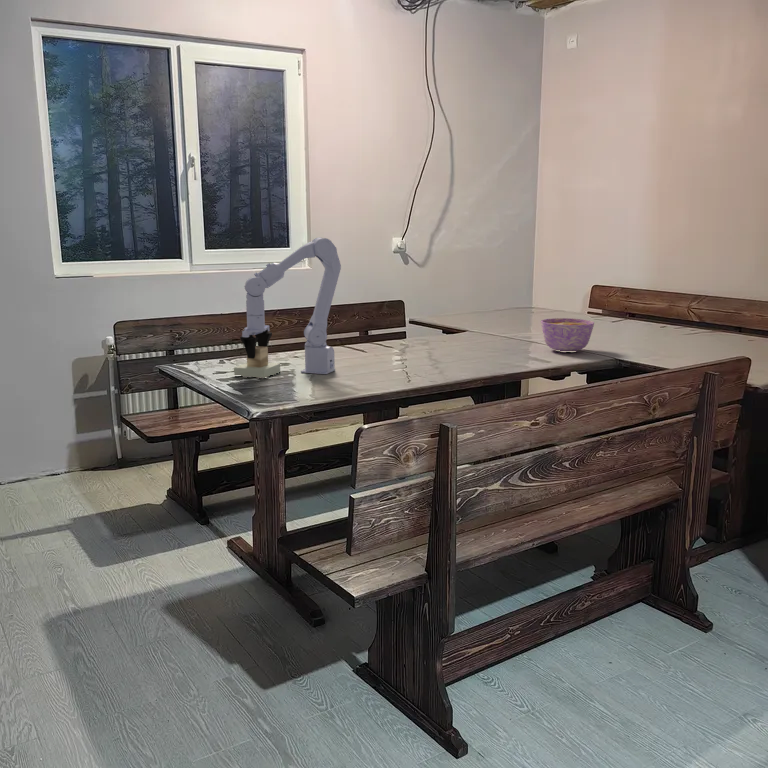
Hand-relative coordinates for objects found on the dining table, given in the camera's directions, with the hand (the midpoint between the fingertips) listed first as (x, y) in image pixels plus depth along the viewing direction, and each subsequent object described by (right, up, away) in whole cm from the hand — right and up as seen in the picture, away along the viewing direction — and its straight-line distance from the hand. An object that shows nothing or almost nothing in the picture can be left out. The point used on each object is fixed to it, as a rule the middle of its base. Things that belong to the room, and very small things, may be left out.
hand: (257, 356), depth 251 cm
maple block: (0, -3, +1) cm, 3 cm away
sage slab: (0, -6, +1) cm, 6 cm away
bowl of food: (+112, +3, +45) cm, 121 cm away
